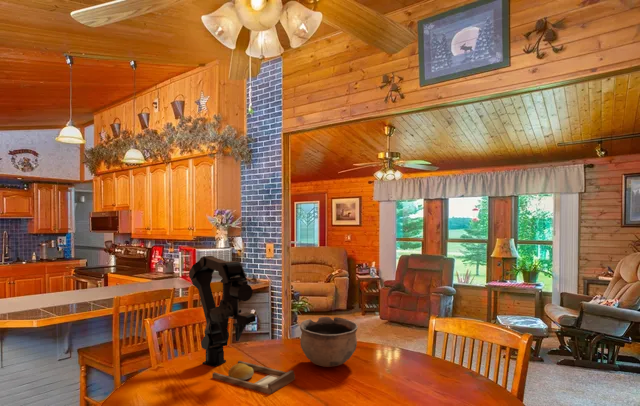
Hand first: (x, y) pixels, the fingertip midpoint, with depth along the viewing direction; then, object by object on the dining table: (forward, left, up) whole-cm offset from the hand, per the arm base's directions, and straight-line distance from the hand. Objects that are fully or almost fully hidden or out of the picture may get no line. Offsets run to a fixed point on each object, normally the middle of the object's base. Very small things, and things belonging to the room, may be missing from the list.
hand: (230, 339), depth 151 cm
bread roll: (+9, 0, -12) cm, 15 cm away
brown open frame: (+11, 0, -12) cm, 16 cm away
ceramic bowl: (+26, +26, -12) cm, 39 cm away
